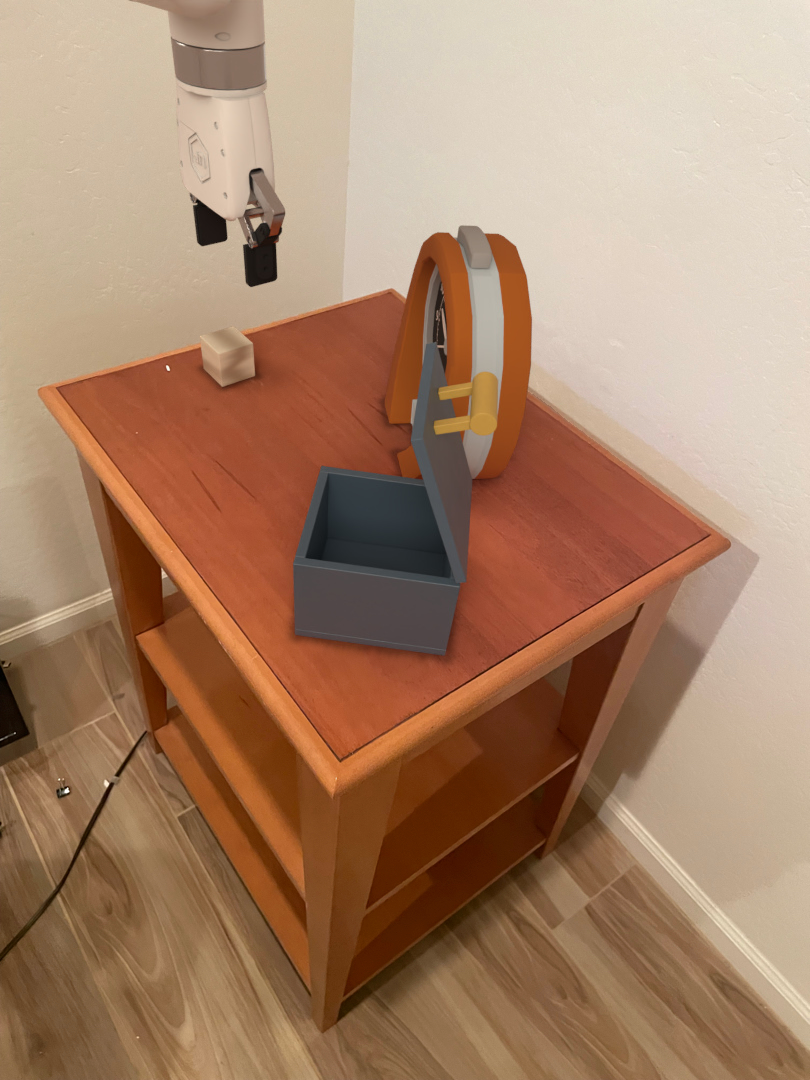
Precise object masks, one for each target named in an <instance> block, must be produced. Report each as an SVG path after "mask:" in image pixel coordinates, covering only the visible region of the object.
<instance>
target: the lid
mask: <svg viewBox="0 0 810 1080" xmlns="http://www.w3.org/2000/svg"><path fill="white" fill-rule="evenodd" d="M470 395H471V410H470V415H468V416H462V417H456V416H455V412H454V408H453V404H452V400H451V399H452V398H458V397H464V396H470ZM497 409H498V379H497V377H496V376H495V375H494V374H492V373H490V372H481V373H478V374H477V375H476V376H475V377H474V378H473V381H472V382H469V383H463V384H458V385H452V386H448V385H447V381H446V377H445V373H444V369H443V366H442V362H441V358H440V354H439V350H438V346H437V343H436V342H434V343H429V344H426V348H425V354H424V360H423V366H422V373H421V379H420V385H419V391H418V398H417V404H416V410H415V416H414V423H413V426H412V430H411V436H410V445H412V447H413V450H414V453H415V456H416V459H417V462H418V465H419V469H420V472H421V475H422V478H423V481H424V484H425V487H426V491H427V494H428V497H429V500H430V503H431V506H432V509H433V513H434V516H435V519H436V522H437V525H438V528H439V531H440V534H441V538H442V541H443V544H444V547H445V550H446V553H447V556H448V560H449V563H450V566H451V569H452V572H453V575H454V578H455V582H456V583H461V584H464V583H467V581H468V578H467V577H468V563H469V562H468V560H469V546H470V545H469V544H470V530H471V529H470V526H471V510H472V492H473V479H472V477H471V473H470V470H469V466H468V462H467V458H466V454H465V450H464V446H463V443H462V439H461V435H460V431H464V430H472V431H473V432H474V433H475V434H477V435H481V436H485V435H489V434H491V433H493V432H494V431H495V430H496V428H497Z"/></svg>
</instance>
